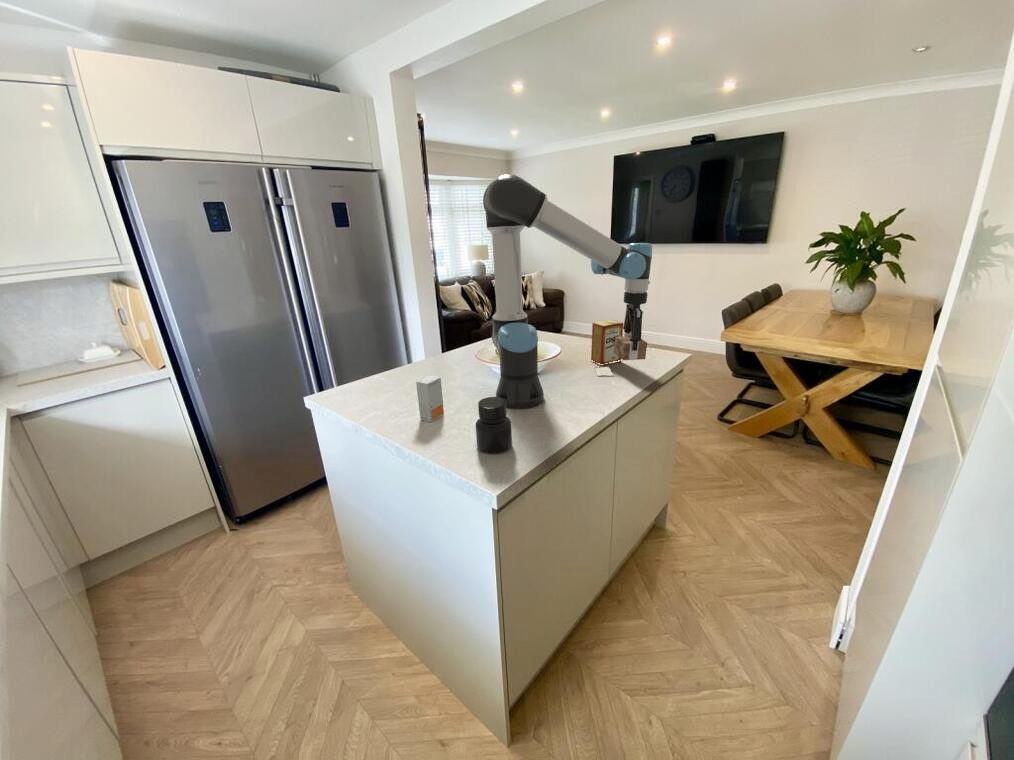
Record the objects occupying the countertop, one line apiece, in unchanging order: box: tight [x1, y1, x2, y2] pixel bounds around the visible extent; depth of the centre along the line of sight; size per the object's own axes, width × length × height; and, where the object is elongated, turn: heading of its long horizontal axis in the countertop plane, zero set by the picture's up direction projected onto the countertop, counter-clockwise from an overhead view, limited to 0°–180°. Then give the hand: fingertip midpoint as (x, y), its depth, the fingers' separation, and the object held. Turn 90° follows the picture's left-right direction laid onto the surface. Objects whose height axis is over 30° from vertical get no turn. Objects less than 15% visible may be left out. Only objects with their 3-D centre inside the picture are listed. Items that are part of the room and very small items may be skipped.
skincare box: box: [415, 375, 445, 423], centre depth 115 cm, size 6×4×12 cm
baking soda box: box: [590, 319, 624, 364], centre depth 156 cm, size 10×6×16 cm
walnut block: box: [614, 336, 648, 361], centre depth 141 cm, size 9×8×6 cm
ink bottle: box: [475, 396, 513, 455], centre depth 98 cm, size 10×9×12 cm
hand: (629, 354), depth 142 cm, fingers closed on walnut block, 10 cm apart
